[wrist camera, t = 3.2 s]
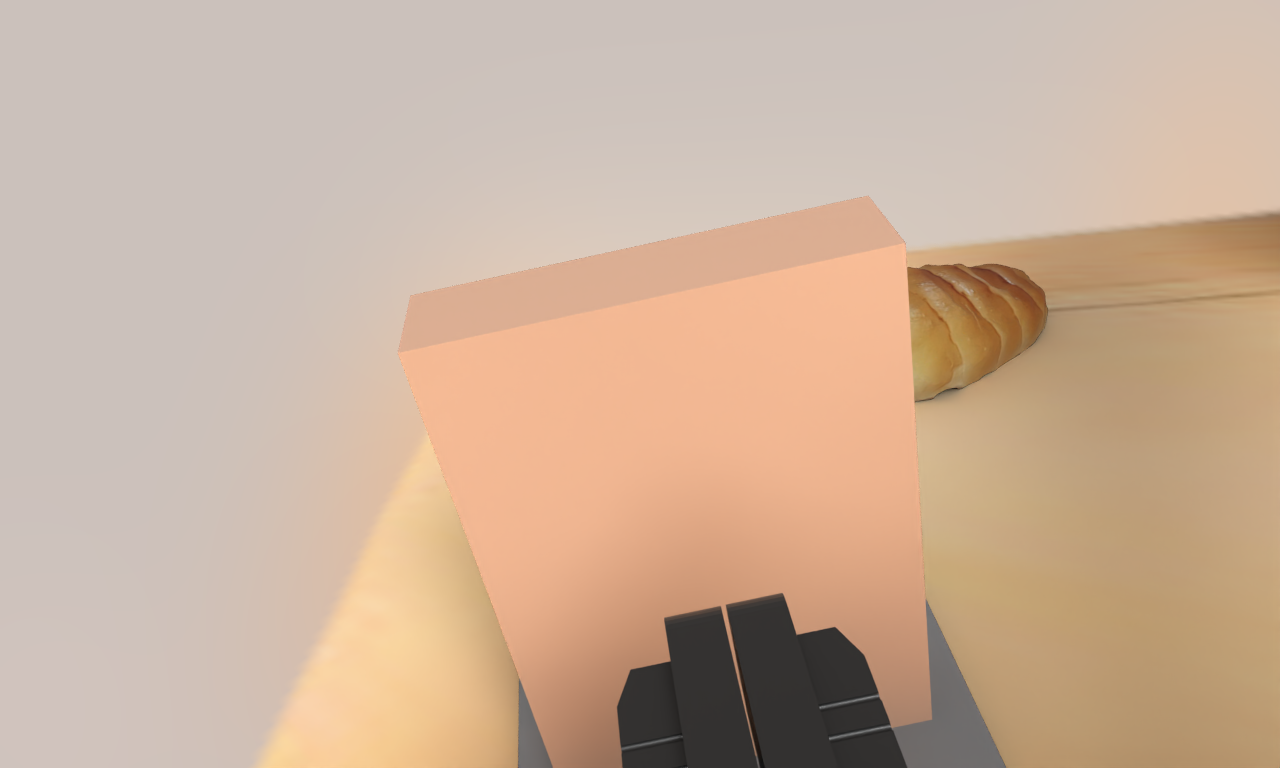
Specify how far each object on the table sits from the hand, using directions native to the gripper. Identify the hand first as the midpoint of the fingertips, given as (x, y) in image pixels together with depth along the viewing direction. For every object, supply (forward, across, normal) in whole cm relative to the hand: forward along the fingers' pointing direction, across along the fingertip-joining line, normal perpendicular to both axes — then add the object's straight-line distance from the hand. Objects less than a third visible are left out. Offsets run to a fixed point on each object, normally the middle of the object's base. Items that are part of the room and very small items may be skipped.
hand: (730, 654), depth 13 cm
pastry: (+27, -11, +14) cm, 32 cm away
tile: (+10, 0, +13) cm, 17 cm away
